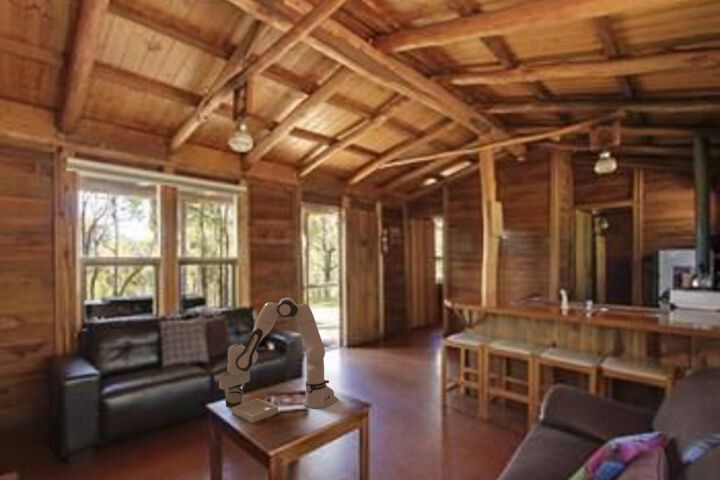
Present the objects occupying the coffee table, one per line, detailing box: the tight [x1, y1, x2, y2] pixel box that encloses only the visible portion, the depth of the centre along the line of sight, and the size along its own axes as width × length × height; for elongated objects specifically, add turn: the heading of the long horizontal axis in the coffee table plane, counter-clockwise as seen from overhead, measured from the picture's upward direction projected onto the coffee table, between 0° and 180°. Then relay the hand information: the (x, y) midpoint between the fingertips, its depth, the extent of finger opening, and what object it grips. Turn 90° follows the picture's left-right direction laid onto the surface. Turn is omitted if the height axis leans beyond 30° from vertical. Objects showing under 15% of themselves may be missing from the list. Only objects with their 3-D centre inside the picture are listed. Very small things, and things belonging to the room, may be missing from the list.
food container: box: [223, 387, 244, 408], centre depth 256 cm, size 12×6×10 cm, turn 77°
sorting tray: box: [231, 397, 279, 424], centre depth 243 cm, size 18×20×4 cm
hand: (234, 392), depth 256 cm, fingers open, 8 cm apart
